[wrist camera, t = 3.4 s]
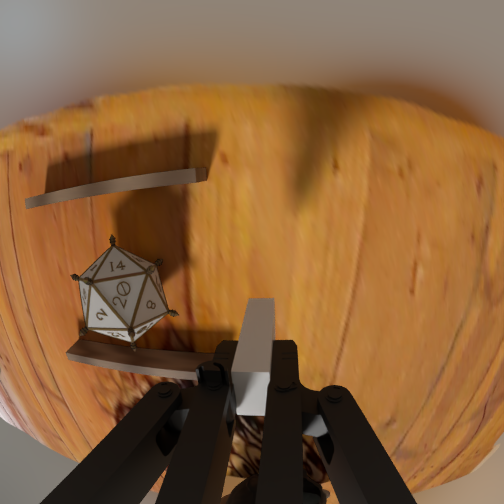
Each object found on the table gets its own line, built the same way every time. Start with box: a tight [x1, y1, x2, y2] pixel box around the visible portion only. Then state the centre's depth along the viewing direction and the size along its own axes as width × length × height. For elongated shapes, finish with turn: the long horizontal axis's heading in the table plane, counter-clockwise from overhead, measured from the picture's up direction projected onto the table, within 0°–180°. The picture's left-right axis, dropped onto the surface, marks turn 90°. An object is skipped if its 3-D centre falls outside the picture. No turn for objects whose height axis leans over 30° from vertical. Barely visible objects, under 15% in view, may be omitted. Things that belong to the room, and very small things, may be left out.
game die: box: [70, 234, 179, 351], centre depth 21 cm, size 9×8×10 cm
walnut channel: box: [25, 168, 215, 380], centre depth 23 cm, size 18×18×3 cm
